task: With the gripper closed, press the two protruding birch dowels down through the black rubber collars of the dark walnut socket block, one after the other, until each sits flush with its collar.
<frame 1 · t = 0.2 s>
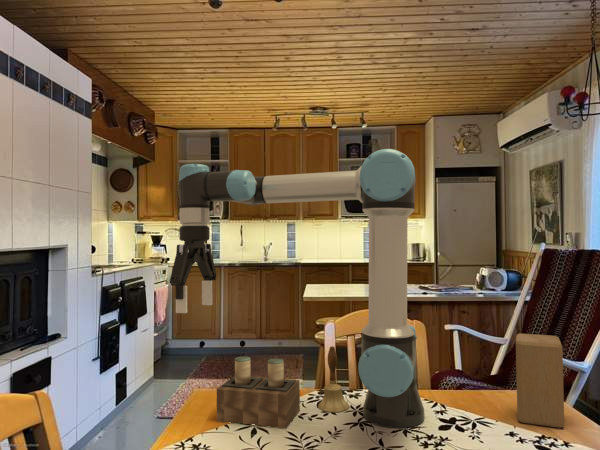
hand: (195, 308, 120), 27 cm above the table, fingers open, 13 cm apart
socket block: (259, 416, 120), on the table
hand bell: (333, 407, 126), on the table
block: (539, 420, 116), on the table
peg near: (275, 377, 119), point 10 cm above the table, slide at 0.0 cm
peg far: (242, 374, 121), point 10 cm above the table, slide at 0.0 cm
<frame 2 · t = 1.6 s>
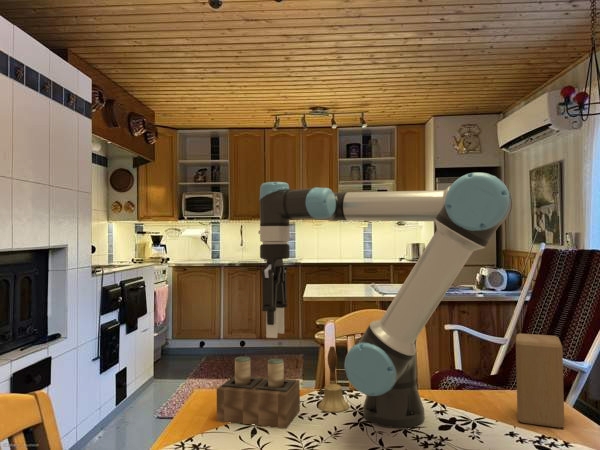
hand: (275, 335, 119), 21 cm above the table, fingers open, 5 cm apart
nothing on the table moved.
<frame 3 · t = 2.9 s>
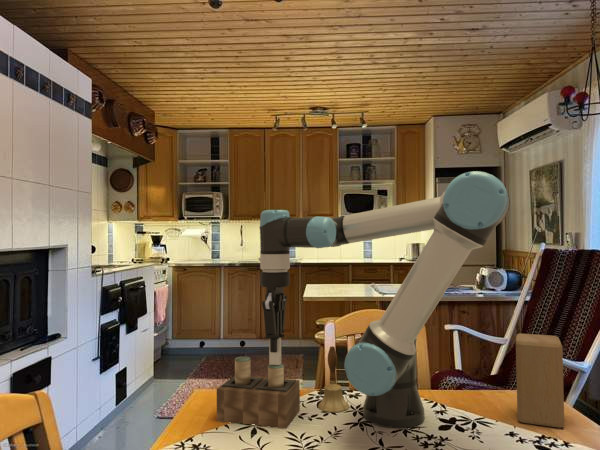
hand: (275, 364, 119), 13 cm above the table, fingers closed
peg near: (275, 381, 119), point 9 cm above the table, slide at 1.2 cm, touching gripper
everything else where it was.
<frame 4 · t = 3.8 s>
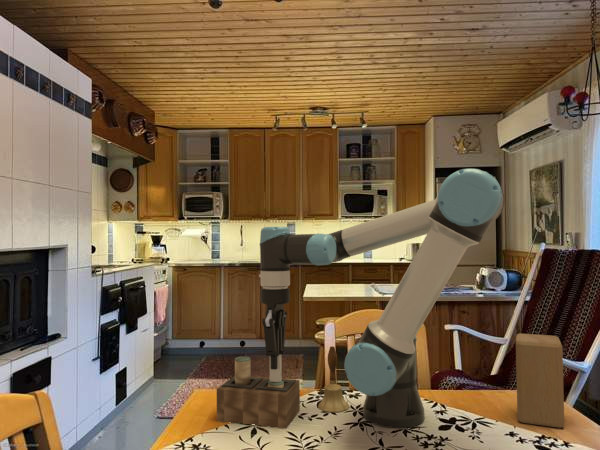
hand: (275, 380, 119), 9 cm above the table, fingers closed
peg near: (276, 398, 119), point 5 cm above the table, slide at 5.4 cm, touching gripper
everything else where it was.
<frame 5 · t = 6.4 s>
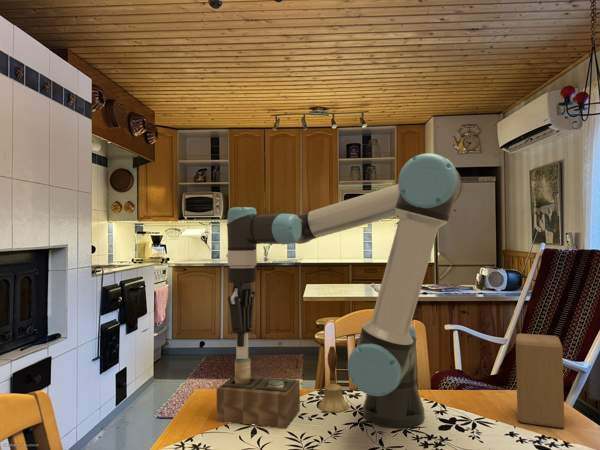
hand: (242, 358, 121), 14 cm above the table, fingers closed
peg near: (276, 398, 119), point 5 cm above the table, slide at 5.4 cm
peg far: (242, 375, 121), point 10 cm above the table, slide at 0.2 cm, touching gripper
everything else where it was.
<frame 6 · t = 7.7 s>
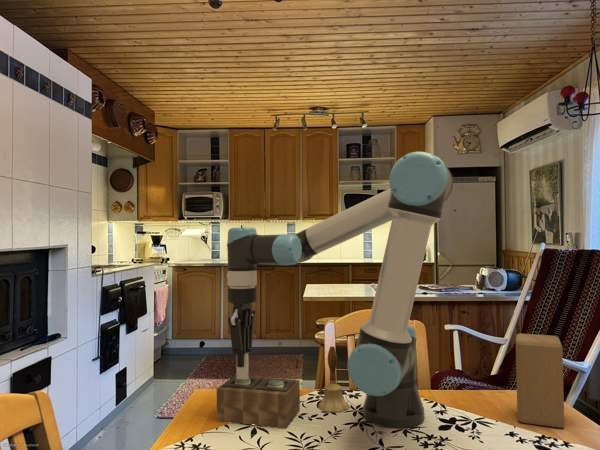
hand: (242, 378, 121), 9 cm above the table, fingers closed
peg far: (242, 395, 121), point 5 cm above the table, slide at 5.4 cm, touching gripper
everything else where it was.
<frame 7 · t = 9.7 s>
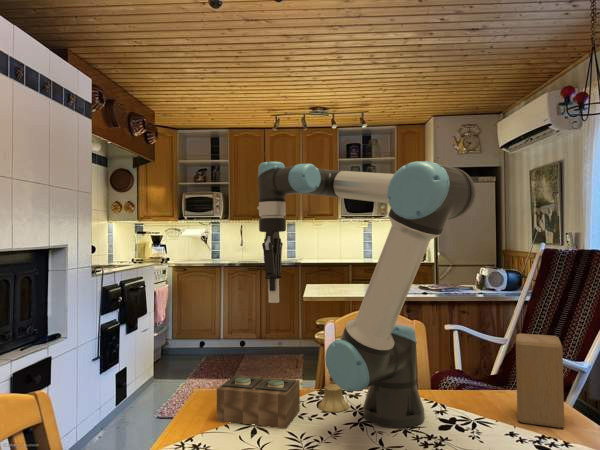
hand: (273, 302, 131), 27 cm above the table, fingers closed
peg far: (242, 395, 121), point 5 cm above the table, slide at 5.4 cm
everything else where it was.
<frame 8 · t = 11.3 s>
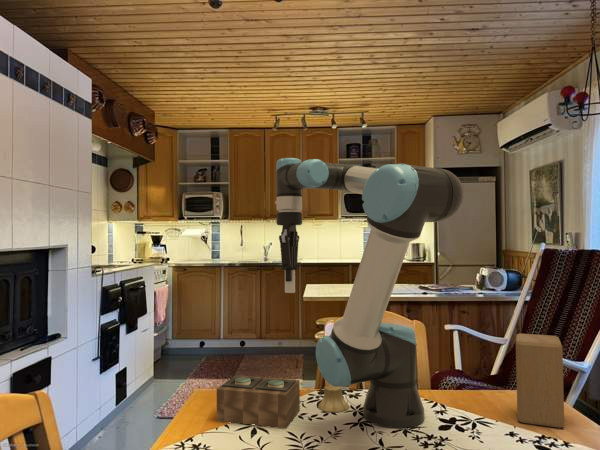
hand: (290, 292, 137), 29 cm above the table, fingers closed
nothing on the table moved.
at the end: peg near slide at 5.4 cm; peg far slide at 5.4 cm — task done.
